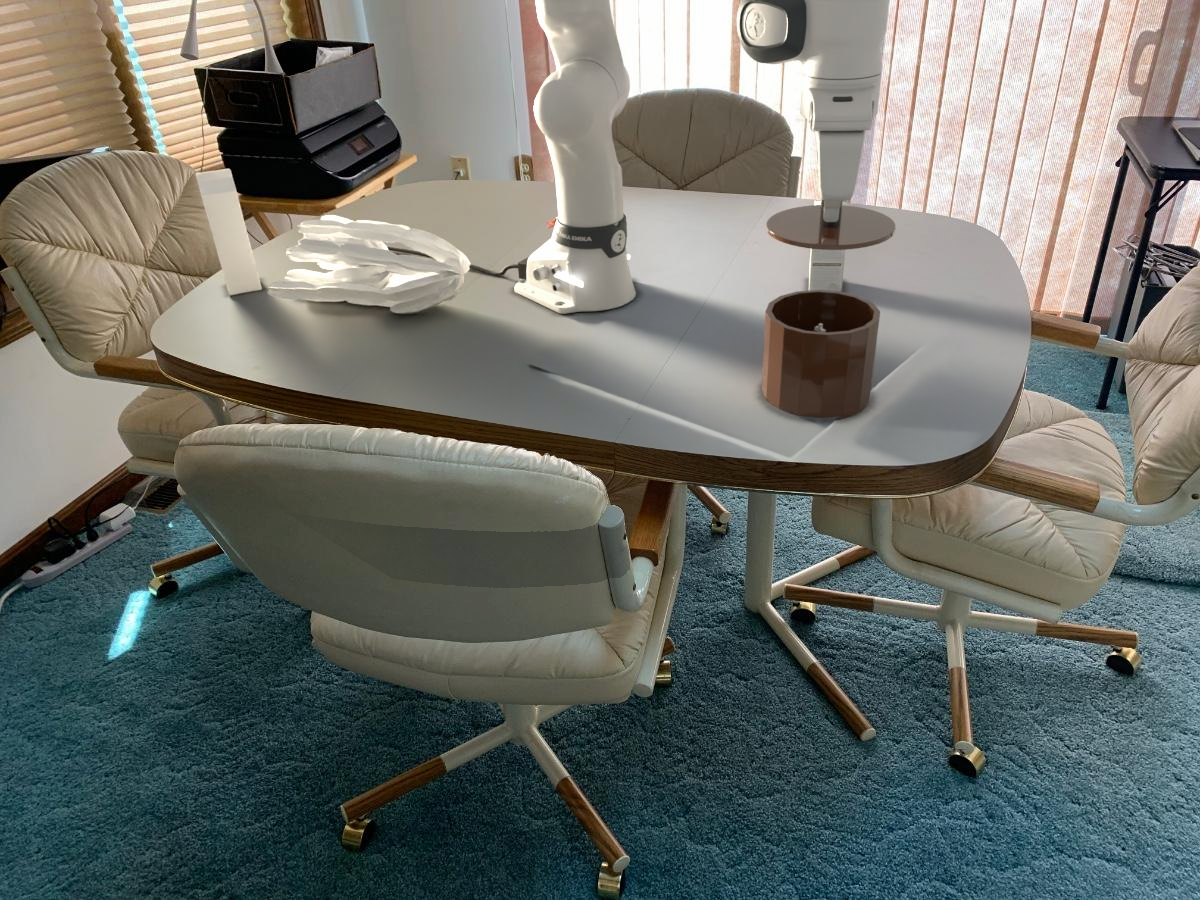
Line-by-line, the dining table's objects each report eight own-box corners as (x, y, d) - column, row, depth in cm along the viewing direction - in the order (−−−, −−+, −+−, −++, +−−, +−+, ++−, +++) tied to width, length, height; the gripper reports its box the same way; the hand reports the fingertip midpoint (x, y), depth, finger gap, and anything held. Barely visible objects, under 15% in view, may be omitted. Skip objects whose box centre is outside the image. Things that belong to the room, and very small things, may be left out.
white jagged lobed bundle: (490, 235, 163) (322, 221, 173) (445, 207, 146) (261, 193, 156) (477, 329, 163) (310, 310, 173) (430, 313, 146) (247, 292, 156)
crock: (742, 400, 127) (745, 317, 120) (795, 362, 136) (801, 282, 129) (837, 432, 119) (846, 344, 112) (887, 388, 128) (898, 305, 121)
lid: (741, 240, 115) (743, 199, 112) (805, 206, 125) (807, 168, 122) (857, 263, 106) (862, 219, 103) (915, 226, 116) (921, 185, 113)
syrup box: (842, 293, 157) (850, 210, 150) (807, 291, 158) (813, 209, 151) (841, 280, 162) (849, 199, 154) (807, 279, 163) (813, 199, 156)
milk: (262, 290, 172) (232, 172, 160) (228, 296, 170) (195, 177, 158) (258, 279, 177) (229, 164, 165) (226, 285, 175) (194, 169, 163)
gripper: (810, 82, 116) (803, 191, 123) (813, 118, 99) (805, 242, 106) (862, 81, 115) (851, 191, 122) (873, 118, 98) (860, 242, 105)
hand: (830, 215), depth 114 cm, fingers closed on lid, 2 cm apart
